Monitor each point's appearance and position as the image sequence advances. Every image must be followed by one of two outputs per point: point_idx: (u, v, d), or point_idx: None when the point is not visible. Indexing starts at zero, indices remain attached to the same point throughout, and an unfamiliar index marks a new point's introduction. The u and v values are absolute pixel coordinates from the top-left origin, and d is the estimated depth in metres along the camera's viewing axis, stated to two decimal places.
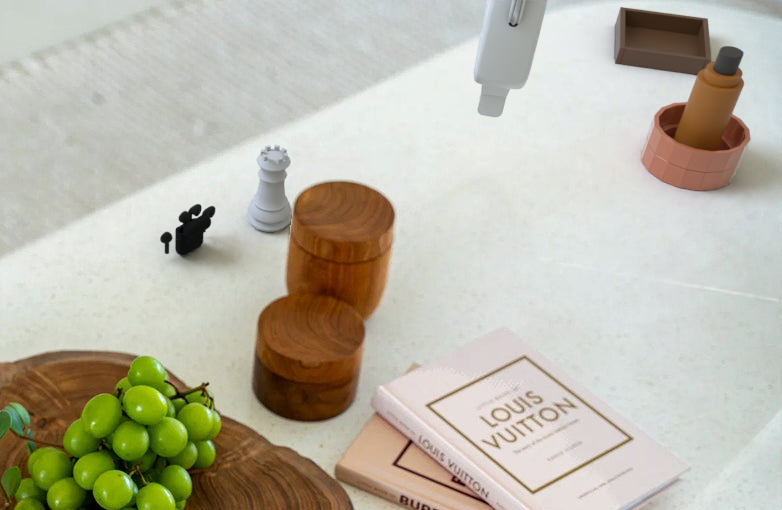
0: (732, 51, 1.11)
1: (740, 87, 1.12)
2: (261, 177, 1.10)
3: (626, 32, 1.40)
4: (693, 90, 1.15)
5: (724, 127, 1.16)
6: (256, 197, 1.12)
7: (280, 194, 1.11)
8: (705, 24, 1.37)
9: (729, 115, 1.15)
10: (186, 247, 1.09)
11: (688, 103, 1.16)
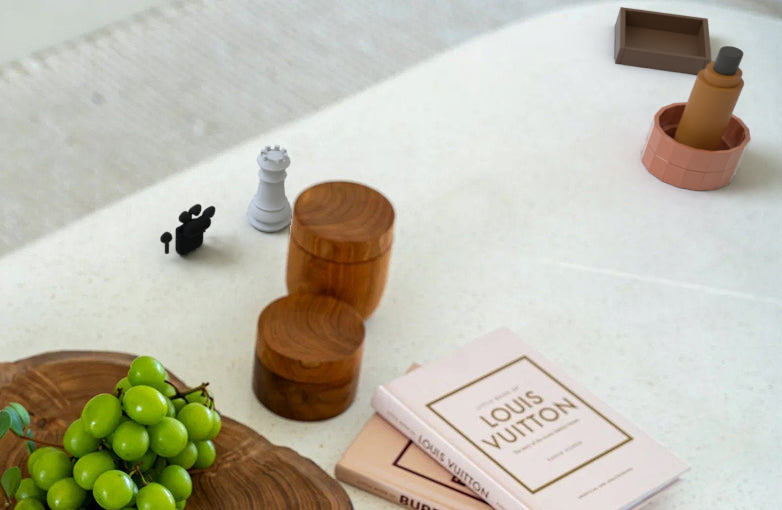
0: (732, 51, 1.11)
1: (740, 87, 1.12)
2: (261, 177, 1.10)
3: (626, 32, 1.40)
4: (693, 90, 1.15)
5: (724, 127, 1.16)
6: (256, 197, 1.12)
7: (280, 194, 1.11)
8: (705, 24, 1.37)
9: (729, 115, 1.15)
10: (186, 247, 1.09)
11: (688, 103, 1.16)
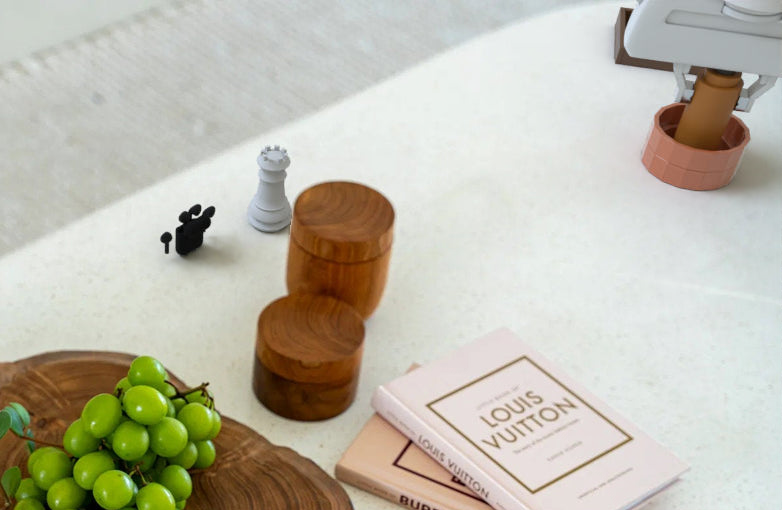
0: None
1: (740, 87, 1.12)
2: (261, 177, 1.10)
3: None
4: None
5: (724, 127, 1.16)
6: (256, 197, 1.12)
7: (280, 194, 1.11)
8: None
9: (729, 115, 1.15)
10: (186, 247, 1.09)
11: None
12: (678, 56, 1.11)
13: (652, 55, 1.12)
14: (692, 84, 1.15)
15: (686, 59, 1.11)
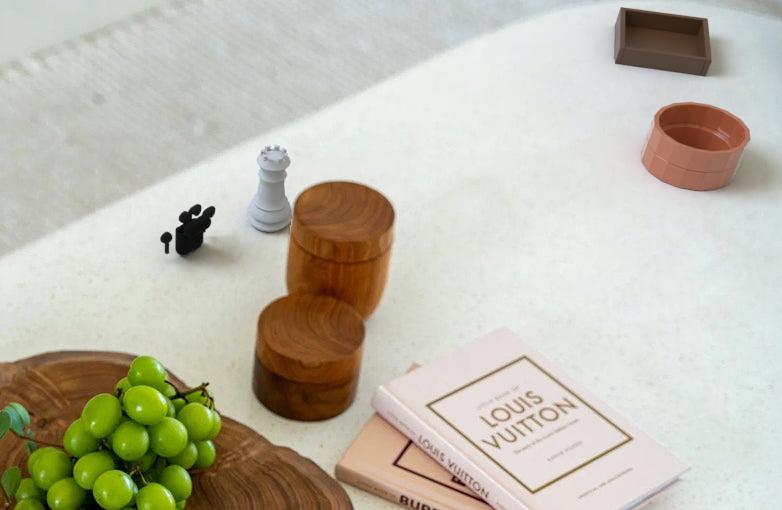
0: None
1: None
2: (261, 177, 1.10)
3: (626, 32, 1.40)
4: None
5: None
6: (256, 197, 1.12)
7: (280, 194, 1.11)
8: (705, 24, 1.37)
9: None
10: (186, 247, 1.09)
11: None
12: None
13: None
14: None
15: None
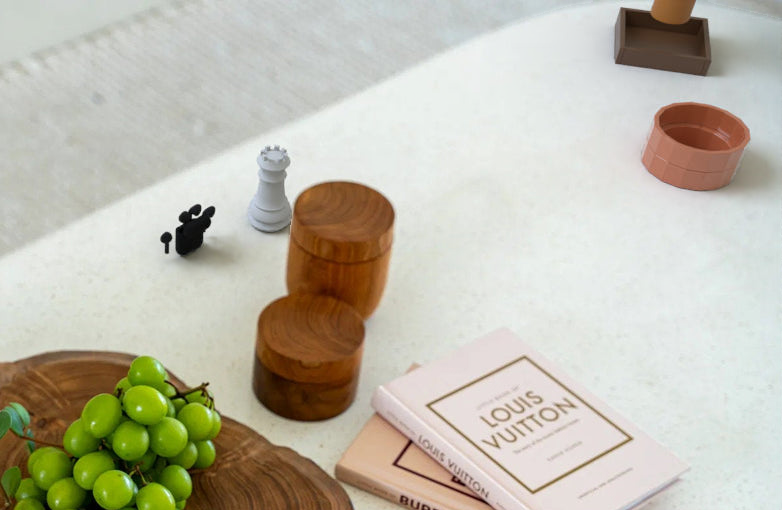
0: None
1: None
2: (261, 177, 1.10)
3: (626, 32, 1.40)
4: None
5: None
6: (256, 197, 1.12)
7: (280, 193, 1.11)
8: (705, 24, 1.37)
9: None
10: (186, 247, 1.09)
11: None
12: None
13: None
14: None
15: None
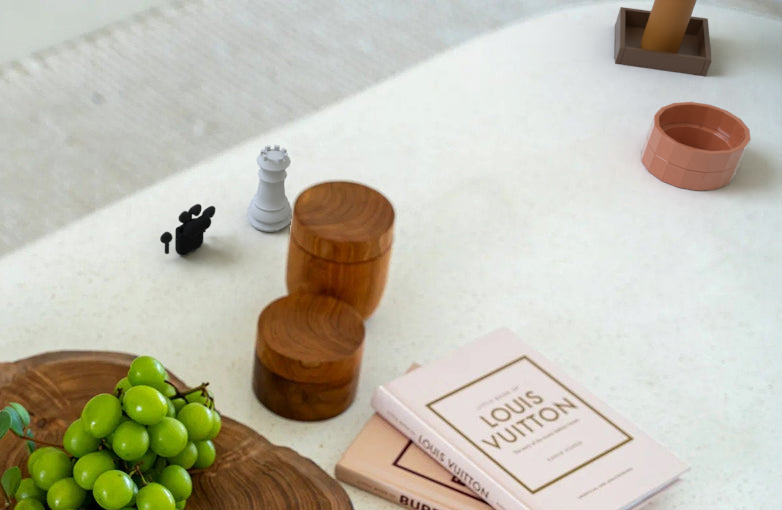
0: None
1: None
2: (261, 177, 1.10)
3: (626, 32, 1.40)
4: None
5: (690, 12, 1.32)
6: (256, 197, 1.12)
7: (280, 194, 1.11)
8: (705, 24, 1.37)
9: (694, 0, 1.31)
10: (186, 247, 1.09)
11: None
12: None
13: None
14: None
15: None
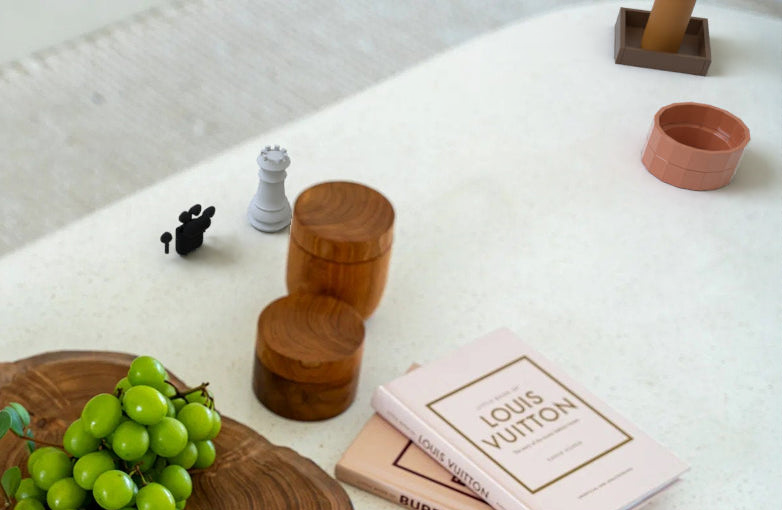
0: None
1: None
2: (261, 177, 1.10)
3: (626, 32, 1.40)
4: None
5: (690, 12, 1.32)
6: (256, 197, 1.12)
7: (280, 194, 1.11)
8: (705, 24, 1.37)
9: (694, 0, 1.31)
10: (186, 247, 1.09)
11: None
12: None
13: None
14: None
15: None
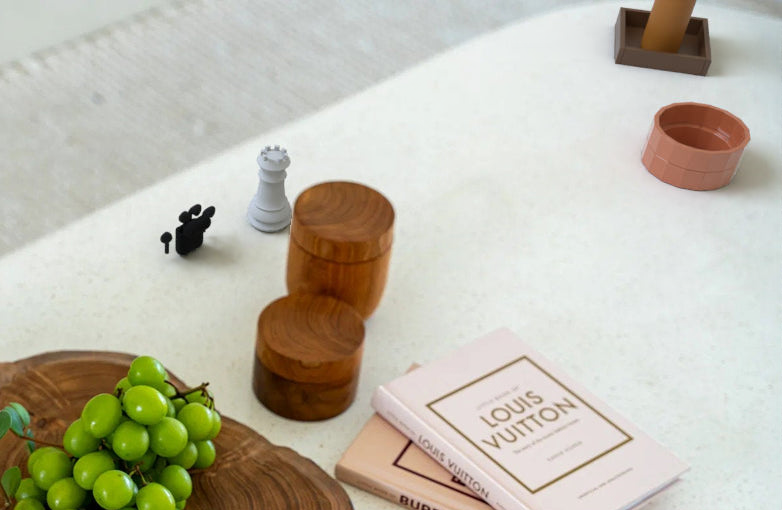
0: None
1: None
2: (261, 177, 1.10)
3: (626, 32, 1.40)
4: None
5: (690, 12, 1.32)
6: (256, 197, 1.12)
7: (280, 194, 1.11)
8: (705, 24, 1.37)
9: (694, 0, 1.31)
10: (186, 247, 1.09)
11: None
12: None
13: None
14: None
15: None
